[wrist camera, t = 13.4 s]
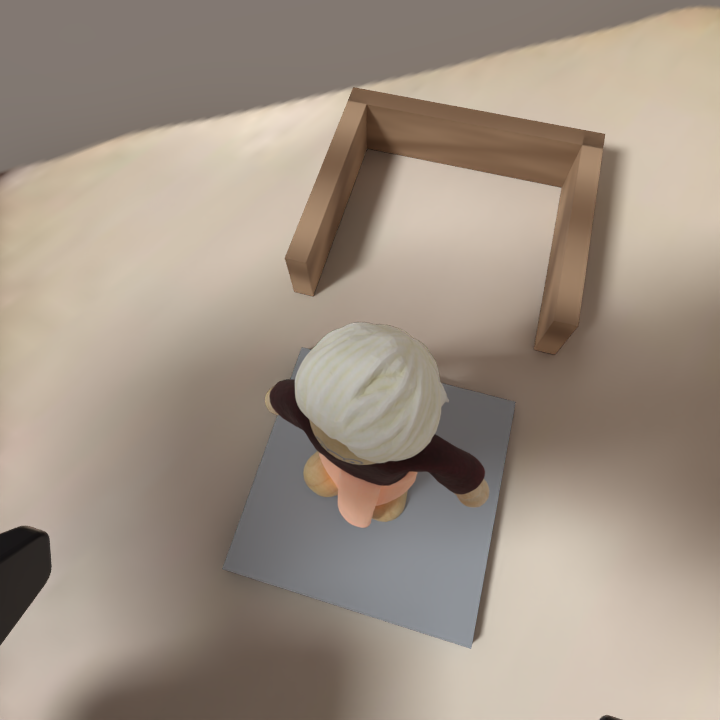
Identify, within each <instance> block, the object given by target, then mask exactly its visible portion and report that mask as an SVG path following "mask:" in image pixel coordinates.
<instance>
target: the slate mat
mask: <svg viewBox="0 0 720 720" xmlns="http://www.w3.org/2000/svg"><path fill="white" fill-rule="evenodd" d="M310 351H311V349H307V348H303V347H302V348H301V351H300V354H299V357H298V359H297V362H296V365H295V368H294V370H293V373H292V376H291V379H293V380H295V378H296V374H297V371H298V369H299V367H300V365H301V363H302V361H303V360H304V358H305V357H306V356H307V354H308V353H309V352H310ZM442 385H443V387H444V390H445V392H446V394H447V398H448V399H449V402H445V403H444V404H443V406H442V407H441V416H440V421H439V424H438V427H437V431H436V433H435V434H436V435H438V436H439V437H441V438H442V439H444V440H446V441H448V442H449V443H451V444H452V445H454V446H456V447H458V448H460V449H462V450H464V451H466V452H468V453H470V454H471V455H473V456H474V457H476V458H477V459H478V460H479V461H480V462H481V464H482V465H483V467H484V469H485V477H484V480H485V481H486V482H487V484H488V487H489V497H488V499H487V501H486V502H485V503H484V504H483V505H481V506H480V507H475V508H474V507H467V506H465V505H464V504H462V503H461V502H460V500H459V499H458V497H457V495H455V494H454V493H453V492H451V491H450V490H448V489H447V488H446V487H444V486H443V485H442V484H440V483H439V482H437V480H436V479H435V478H434V477H433V476H432V475H431V474H430V473H429V472H417V475H416V480H415V482H414V483H413V485H412V486H411V487H410V488H409V489H408V492H407V498H406V503H405V507H404V510H403V512H402V513H401V514H400V515H399V517H397V518H396V519H394V520H392V521H388V522H380V521H377V520H374V519H371V524H370V525H369V526H368V527H366V528H360V527H357V526H354V525H352V524H350V523H348V522H347V521H346V520H345V519H344V517H343V516H342V515H341V513H340V511H339V508H338V495H336V496H332V497H323V496H320V495H317V494H316V493H315V492H313V491H312V490H311V489H310V488H309V487H308V486H307V484H306V482H305V480H304V475H303V471H304V466H305V464H306V462H307V461H308V459H309V458H310V457H311V456H312V455H313V454H315V453H316V452H317V450H316V449H315V447H314V446H313V444H312V443H311V442H310V440H309V438H308V437H307V435H306V433H305V432H304V431H303V430H302V429H300V428H298V427H296V426H294V425H293V424H291V423H290V422H288V421H286V420H285V419H283V418H282V417H281V416H280V415H277V418H276V421H275V423H274V426H273V429H272V432H271V434H270V437H269V440H268V443H267V446H266V448H265V451H264V454H263V457H262V460H261V462H260V465H259V468H258V471H257V473H256V476H255V479H254V482H253V485H252V487H251V490H250V493H249V496H248V499H247V501H246V504H245V507H244V510H243V512H242V515H241V518H240V521H239V524H238V526H237V529H236V532H235V535H234V538H233V540H232V543H231V546H230V549H229V551H228V554H227V557H226V560H225V563H224V565H223V568H222V569H223V570H226V571H230V572H233V573H236V574H239V575H242V576H245V577H248V578H251V579H255V580H258V581H261V582H264V583H267V584H270V585H273V586H276V587H280V588H283V589H286V590H289V591H292V592H295V593H298V594H301V595H305V596H308V597H311V598H314V599H317V600H320V601H323V602H326V603H330V604H333V605H336V606H339V607H342V608H345V609H348V610H351V611H355V612H358V613H361V614H364V615H367V616H370V617H373V618H377V619H380V620H383V621H386V622H389V623H392V624H395V625H398V626H402V627H405V628H408V629H411V630H414V631H417V632H420V633H423V634H427V635H430V636H433V637H436V638H439V639H442V640H445V641H448V642H452V643H455V644H458V645H461V646H464V647H467V648H470V649H471V647H472V642H473V636H474V631H475V625H476V620H477V614H478V608H479V603H480V597H481V592H482V586H483V581H484V575H485V570H486V564H487V558H488V553H489V547H490V542H491V536H492V531H493V525H494V520H495V514H496V508H497V503H498V497H499V492H500V486H501V481H502V475H503V470H504V464H505V458H506V453H507V447H508V442H509V436H510V431H511V425H512V420H513V414H514V408H515V403H516V402H514V401H510V400H506V399H502V398H498V397H494V396H491V395H487V394H483V393H479V392H475V391H471V390H467V389H463V388H459V387H455V386H451V385H447V384H444V383H442Z"/></svg>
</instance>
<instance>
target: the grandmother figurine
mask: <svg viewBox="0 0 720 720" xmlns="http://www.w3.org/2000/svg"><path fill="white" fill-rule="evenodd" d="M445 402H449V399H448V398H447V394H446V392H445V390H444V387H443V385H442V383H441V381H440V377H439V371H438V367H437V363H436V361H435V359H434V358H433V356H432V355H431V354H430V352H429V351H428V349H427V347H426V346H425V345H424V344H423V343H421V342H420V341H418V340H416V339H414V338H412V337H411V336H410V335H409V334H408V333H407V332H405V331H403V330H402V329H399V328H396V327H393V326H390V325H382V324H372V323H367V322H356V323H351V324H348V325H346V326H344V327H342V328H340V329H336V330H333V331H331V332H330V333H328V334H327V335H325V336H324V337H323V338H322V339H321V340H320V341H319V342H318V343H317V345H316V346H315V347H314V348H313V349H312V350H311V351H310V352H309V353H308V354H307V356H306V357H305V358H304V360H303V361H302V363H301V365H300V367H299V369H298V371H297V374H296V378H295V380H293V379H288V380H283V381H280V382H278V383H277V384H276V385H275V386H274V387H272V388H271V389H270V390H269V391H268V392H267V394H266V396H265V404H266V407H267V408H268V410H269V411H270V412H271V413H273V414H276V415H280V416H281V417H282V418H283V419H285V420H286V421H288V422H290V423H291V424H293V425H294V426H296V427H298V428H300V429H302V430H303V431H304V432H305V433H306V435H307V437H308V438H309V440H310V442H311V443H312V444H313V446H314V447H315V449H316V450H317V452H316V453H315V454H313V455H312V456H311V457H310V458H309V459H308V461H307V462H306V464H305V466H304V471H303V475H304V480H305V482H306V484H307V486H308V487H309V488H310V489H311V490H312V491H313V492H315V493H316V494H317V495H320V496H323V497H332V496H336V495H338V508H339V511H340V513H341V515H342V516H343V517H344V519H345V520H346V521H347V522H348V523H350V524H352V525H354V526H357V527H360V528H366V527H368V526H369V525H370V524H371V519H374V520H377V521H380V522H388V521H392V520H394V519H396V518H397V517H399V515H400V514H401V513H402V512H403V510H404V507H405V503H406V498H407V492H408V489H409V488H410V487H411V486H412V485H413V483H414V482H415V480H416V475H417V472H429V473H430V474H431V475H432V476H433V477H434V478H435V479H436V480H437V482H439V483H440V484H442V485H443V486H444V487H446V488H447V489H448V490H450V491H451V492H453V493H454V494H455V495H457V497H458V499H459V500H460V502H461V503H462V504H464V505H465V506H467V507H474V508H475V507H480V506H481V505H483V504H484V503H485V502H486V501H487V499H488V497H489V487H488V484H487V482H486V481H485V480H484V477H485V469H484V467H483V465H482V464H481V462H480V461H479V460H478V459H477V458H476V457H474V456H473V455H471V454H470V453H468V452H466V451H464V450H462V449H460V448H458V447H456V446H454V445H452V444H451V443H449V442H448V441H446V440H444V439H442V438H441V437H439V436H438V435H436V434H435V433H436V431H437V427H438V424H439V421H440V416H441V407H442V406H443V404H444V403H445Z"/></svg>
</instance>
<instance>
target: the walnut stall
mask: <svg viewBox="0 0 720 720" xmlns="http://www.w3.org/2000/svg"><path fill="white" fill-rule="evenodd" d="M604 139H605V134H602V133H597V132H592V131H586V130H581V129H575V128H570V127H565V126H559V125H554V124H548V123H543V122H538V121H532V120H527V119H521V118H516V117H511V116H505V115H500V114H495V113H489V112H484V111H478V110H473V109H468V108H462V107H457V106H451V105H446V104H441V103H435V102H430V101H424V100H419V99H414V98H408V97H403V96H397V95H392V94H387V93H381V92H376V91H371V90H365V89H360V88H354V87H353V89H352V92H351V94H350V97H349V99H348V102H347V104H346V107H345V109H344V112H343V114H342V117H341V119H340V122H339V124H338V127H337V129H336V132H335V134H334V137H333V139H332V142H331V144H330V147H329V149H328V152H327V154H326V157H325V159H324V162H323V164H322V167H321V169H320V172H319V174H318V177H317V179H316V182H315V184H314V187H313V189H312V192H311V194H310V197H309V199H308V201H307V204H306V206H305V209H304V211H303V214H302V216H301V219H300V221H299V224H298V226H297V229H296V231H295V234H294V236H293V239H292V241H291V244H290V246H289V249H288V251H287V254H286V256H285V260H286V264H287V267H288V271H289V275H290V278H291V282H292V285H293V289H294V292H298V293H302V294H306V295H310V296H313V295H314V293H315V290H316V287H317V284H318V282H319V279H320V276H321V273H322V271H323V268H324V265H325V262H326V260H327V257H328V254H329V251H330V249H331V246H332V243H333V241H334V238H335V235H336V232H337V230H338V227H339V224H340V221H341V219H342V216H343V213H344V210H345V208H346V205H347V202H348V199H349V197H350V194H351V191H352V188H353V186H354V183H355V180H356V177H357V175H358V172H359V169H360V167H361V164H362V161H363V158H364V156H365V153H366V150H367V148H368V149H373V150H378V151H383V152H388V153H392V154H397V155H402V156H407V157H412V158H417V159H422V160H427V161H432V162H437V163H442V164H447V165H452V166H457V167H462V168H467V169H472V170H477V171H482V172H487V173H492V174H497V175H502V176H507V177H512V178H517V179H522V180H527V181H532V182H537V183H542V184H547V185H552V186H557V187H562V189H561V195H560V201H559V206H558V212H557V218H556V224H555V229H554V235H553V241H552V247H551V253H550V258H549V264H548V270H547V276H546V281H545V287H544V293H543V299H542V305H541V310H540V316H539V322H538V328H537V333H536V339H535V345H534V350H538V351H542V352H546V353H550V354H554V355H555V354H556V353H557V352H558V350H559V349H560V348H561V347H562V346H563V344H564V343H565V342H566V341H567V339H568V338H569V337H570V336H571V335H572V333H573V332H574V331H575V330H576V328H577V327H578V324H579V317H580V310H581V303H582V296H583V289H584V282H585V274H586V267H587V260H588V253H589V246H590V239H591V232H592V225H593V217H594V210H595V203H596V196H597V189H598V182H599V175H600V168H601V160H602V153H603V146H604Z"/></svg>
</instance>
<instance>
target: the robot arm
mask: <svg viewBox="0 0 720 720" xmlns="http://www.w3.org/2000/svg"><path fill="white" fill-rule="evenodd" d="M51 567H52V566H51V552H50V539H49V536H48V534H47V533H46V532H45V531H42V530H39V529H36V528H33V527H30V526H20V527H17V528H14V529H11V530H9V531H6V532H4V533H1V534H0V645H1V644H2V643H3V641H4V640H5V638H6V637H7V636H8V634H9V633H10V632H11V630H12V629H13V627H14V626H15V625H16V623H17V622H18V621H19V619H20V618H21V617H22V615H23V614H24V612H25V611H26V610H27V608H28V607H29V606H30V604H31V603H32V602H33V600H34V599H35V597H36V596H37V595H38V593H39V592H40V591H41V589H42V588H43V587H44V585H45V584H46V582H47V580H48V578H49V576H50V573H51ZM600 720H622V719H619V718H616V717H613V716H609V715H605V716H602V717H601V718H600Z"/></svg>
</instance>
